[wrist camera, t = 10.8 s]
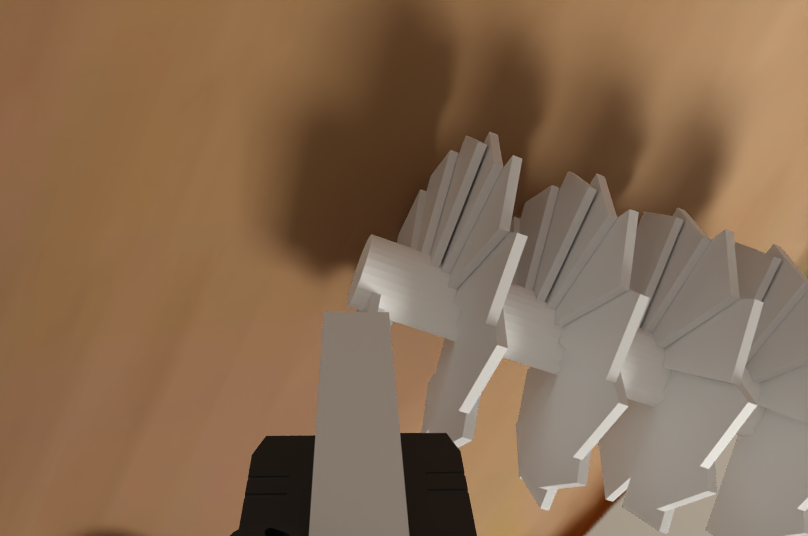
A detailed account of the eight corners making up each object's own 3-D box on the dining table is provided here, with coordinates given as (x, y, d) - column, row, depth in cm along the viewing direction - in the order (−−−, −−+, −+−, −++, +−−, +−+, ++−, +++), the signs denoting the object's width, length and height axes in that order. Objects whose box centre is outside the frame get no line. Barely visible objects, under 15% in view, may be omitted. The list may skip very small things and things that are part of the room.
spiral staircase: (393, 129, 46) (725, 253, 50) (306, 385, 46) (643, 489, 50) (453, 65, 28) (965, 267, 32) (308, 485, 28) (836, 636, 32)
